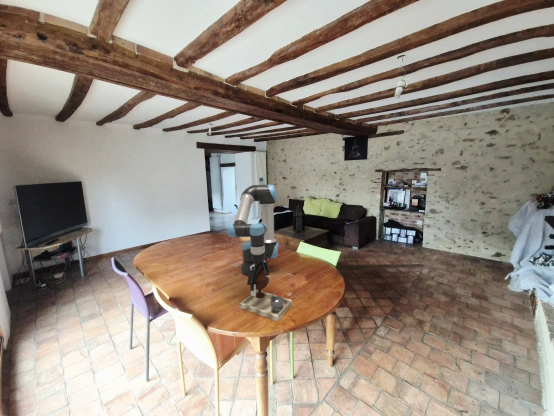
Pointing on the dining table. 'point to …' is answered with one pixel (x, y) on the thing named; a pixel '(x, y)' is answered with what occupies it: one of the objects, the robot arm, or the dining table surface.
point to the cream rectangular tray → (264, 306)
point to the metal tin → (276, 304)
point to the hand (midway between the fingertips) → (259, 290)
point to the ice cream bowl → (261, 283)
